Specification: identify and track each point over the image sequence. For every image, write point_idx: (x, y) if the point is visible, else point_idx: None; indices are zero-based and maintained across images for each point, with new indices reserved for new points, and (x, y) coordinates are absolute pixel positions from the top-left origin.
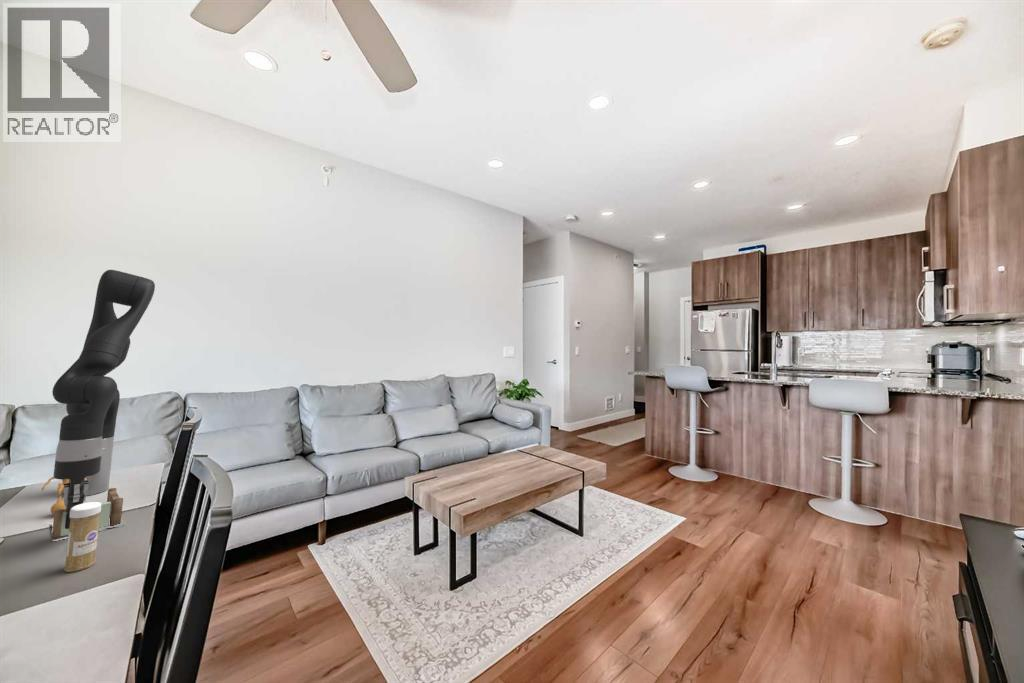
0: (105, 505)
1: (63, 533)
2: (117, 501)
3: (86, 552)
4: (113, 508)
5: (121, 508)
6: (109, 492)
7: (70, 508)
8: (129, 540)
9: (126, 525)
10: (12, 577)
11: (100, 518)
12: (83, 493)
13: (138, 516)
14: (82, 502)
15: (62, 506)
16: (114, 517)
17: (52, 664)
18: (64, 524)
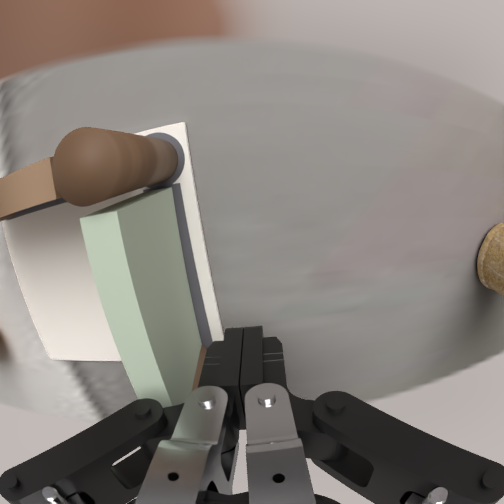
0: (128, 241)
1: (198, 342)
2: (120, 163)
3: None
4: (136, 182)
5: (133, 135)
6: None
7: (343, 454)
8: (401, 110)
9: (185, 113)
10: (435, 376)
11: (162, 235)
12: (498, 500)
13: (91, 83)
14: (438, 443)
15: None
16: (164, 167)
17: None
18: (190, 370)
